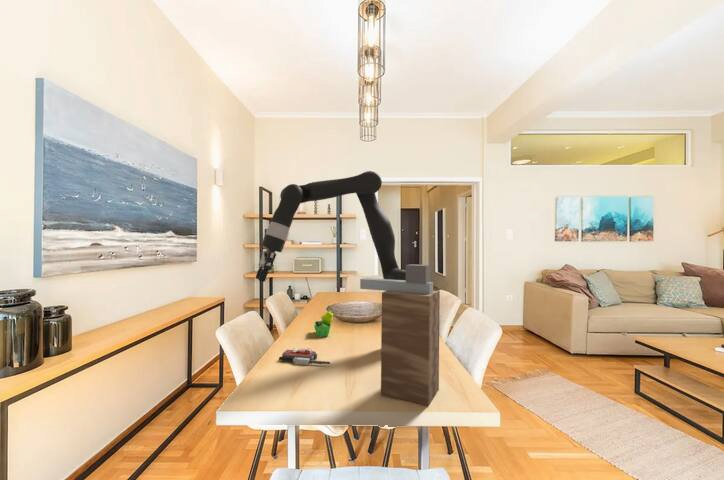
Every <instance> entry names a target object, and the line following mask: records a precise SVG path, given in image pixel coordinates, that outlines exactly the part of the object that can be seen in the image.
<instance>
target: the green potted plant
mask: <svg viewBox="0 0 724 480" xmlns="http://www.w3.org/2000/svg"><path fill="white" fill-rule="evenodd" d="M320 318H321V320H319V321H318V320H317V321H314V330H315V335H316V337H317V338H326V337H327V338H328V337H329V334H330V330H331V326H332V324H331V323H332V322H333V318H334V313H333V311H332V310H327V311H326V313H324V314H323V315H322V316H321V317H320Z"/></svg>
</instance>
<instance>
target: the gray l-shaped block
mask: <svg viewBox="0 0 724 480" xmlns="http://www.w3.org/2000/svg"><path fill="white" fill-rule="evenodd" d="M405 271H406V280H390V279H384V278H370V277H365V278H360V279H359V281H360V282H359V284H360V285H359V287H360V288H359V289H360V290H372V291H383V292H385V291H395V292H408V293H421V294H431V293H433V290H434V282H433V281H431V264H417V263H416V264H413V263H412V264H411V263H410V264H406V265H405Z"/></svg>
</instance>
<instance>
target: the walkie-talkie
mask: <svg viewBox="0 0 724 480" xmlns="http://www.w3.org/2000/svg"><path fill="white" fill-rule="evenodd" d="M281 354H282V356H279V357H278V360H280V361H282V362H284V363H285V362H287V363H294V364H296V365H300V366H309V365H313V364H315V365H330V364H331V362H330V361H324V360H317V358H318V354H317V352H316V351H313V350H312V349H311V348H310V347H309V348H306V347H300V348H298V349H295V348H292V349H286V350H284V351H283V352H282V353H281Z"/></svg>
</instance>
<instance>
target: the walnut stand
mask: <svg viewBox="0 0 724 480" xmlns="http://www.w3.org/2000/svg"><path fill="white" fill-rule="evenodd" d="M440 296H441V293H440V290H434V289H433V293H431V294H421V293H408V292H395V291H383V292H381V332H380V333H381V334H380V335H381V336H380V337H381V340H380V341H381V344H380V345H381V347H380V348H381V349H380V356H381V357H380V358H381V359H380V397H383V398H389V399H393V400H397V401H401V402H406V403H411V404H414V405H420V406H423V407H429V406H430V405H431V403H432V402H433V400H434V399H435V396H436V395H437V393H438V392H439V390H440V305H441V304H440V303H441V302H440V301H441V299H440Z"/></svg>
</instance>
